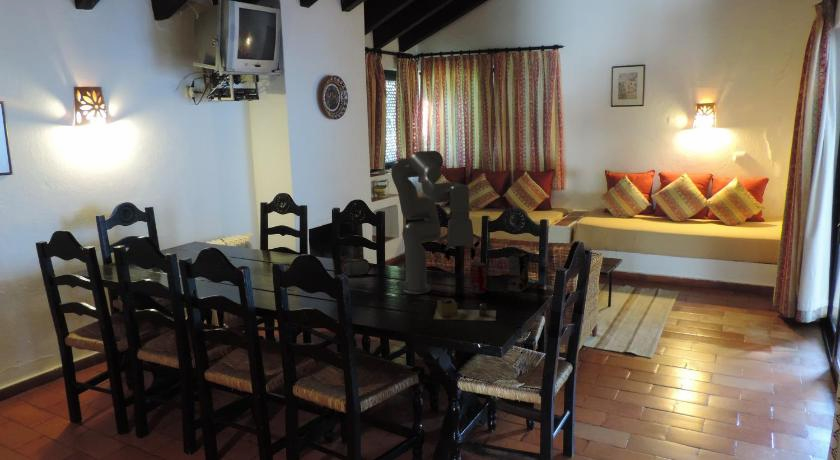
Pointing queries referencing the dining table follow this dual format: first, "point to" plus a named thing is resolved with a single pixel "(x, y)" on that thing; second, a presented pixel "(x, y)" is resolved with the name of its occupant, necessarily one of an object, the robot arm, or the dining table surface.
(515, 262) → the coffee box
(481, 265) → the soda can
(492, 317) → the board
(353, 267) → the tin
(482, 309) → the hub
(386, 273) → the dining table surface
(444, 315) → the collar
